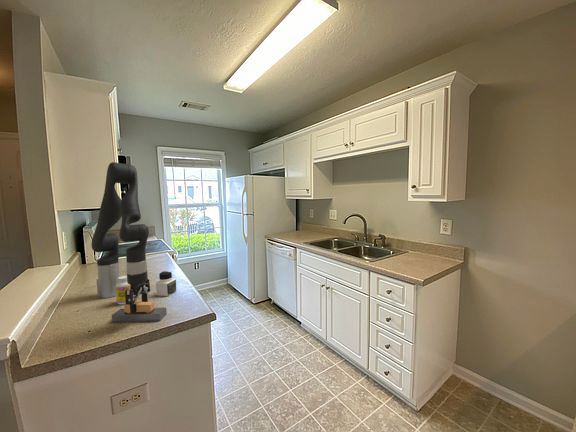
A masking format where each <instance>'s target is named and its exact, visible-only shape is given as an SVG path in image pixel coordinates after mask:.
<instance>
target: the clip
mask: <svg viewBox="0 0 576 432" xmlns="http://www.w3.org/2000/svg"><path fill="white" fill-rule="evenodd" d="M123 307H124V308H123V309H124V311H125V312H127V314H132V313H131V312H130V305H126V304H123ZM136 307H137V312H146V313H151V312H152V310H153V309H154V308H155V302H154V301H148V302H142V301H136Z"/></svg>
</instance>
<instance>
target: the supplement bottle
mask: <svg viewBox="0 0 576 432" xmlns="http://www.w3.org/2000/svg"><path fill="white" fill-rule="evenodd" d="M118 281H119V282H118V283H117V284H116V296H115V297H116V303H117V304H118V305H125V304H126V301H125V291H126V290H129V289H130V287H131V285H130V284H128V283H127V275H122V276H121V275H120V277H119V278H118ZM128 301H129V299H128Z"/></svg>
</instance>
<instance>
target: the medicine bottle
mask: <svg viewBox="0 0 576 432" xmlns="http://www.w3.org/2000/svg"><path fill="white" fill-rule="evenodd" d="M158 274H159V277H158V279H159V281H156V282H155V292H156V294H155V295H156V296H157V297H158V296H159V297H170V296H171V295H173V294H175V293H176V292H177V279H175V278H173V272H172V271H170V270H165V271H164V270H163V271H161V272H160V273H158Z"/></svg>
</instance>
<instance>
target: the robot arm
mask: <svg viewBox="0 0 576 432" xmlns="http://www.w3.org/2000/svg"><path fill="white" fill-rule="evenodd" d="M105 177H106V178H105V184H104V191H103V197H102V200H101V203H100V207H99V208H100V209H99V213H98V219H97V223H96V225H95V226H96V227H95V230H94V232H93V235H92V239H91V249H92V250H93V252H95V253H103V252H107V253H106V254H104V255H103V256H101V257H99V258H98V259H97V260H96V265H97V266H96V267H97V277H98V278H96V288H97V291H96V292H97V297H98V298H101V299H107V298H109V299H110V298H113V297H117V296H116V284H117V283H118V282H119V281H118V278H119V277H121V274H120V263H119V259H120V257H119V256H120V254H119V253H120V252H119V245H120V243H119V239H120V240H121V241H122V242H124V243H131V242H138V243H137V244H135V245H133V246H129V247H128V248H126V250H125V257H126V265H125V269H126V276H127V283H128V284H130V285H131V287H130V289H129V290H126V291H125V301H126V305H130V312H131V313H135V312H137V307H136V302H138V301H137V300H138V299H139V297H140V295H141V302H149V301H148V299H149V298H148V295H149V293H150V292H151V284H150V279H149V277H148V263H147V255H146V249H147V248H146V247H147V243H148V242H147V241H148V239H149V234H150V229H149V227H148V225H147V224H143V223H140V224H137V223H138V222H139V221H140V220H141V219H142V214H141V209H140V205H139V188H138V186H139V184H138V171H137V168H136V167H135V165H132V164H128V163H120V162H115V161H113V162H110V163H109V164H108V166H107V170H106V176H105ZM116 184H124V185H125V184H126V185H128V190H127V192H126V193H125V194H124V195H123V197H122V199H121V197H120V196H119V194H118V193H117V190H116ZM120 220H121V225H120V229H119V235H117V234H116V233H114V232H109V230H110V229H112V228H113V227H114V226H115V225H116V224H117V223H118V222H119V221H120ZM134 223H136V224H134ZM108 232H109V233H108ZM118 236H119V237H118ZM128 299H129V301H128Z"/></svg>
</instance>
